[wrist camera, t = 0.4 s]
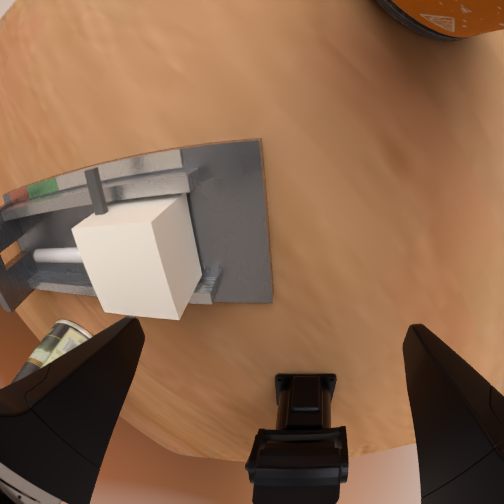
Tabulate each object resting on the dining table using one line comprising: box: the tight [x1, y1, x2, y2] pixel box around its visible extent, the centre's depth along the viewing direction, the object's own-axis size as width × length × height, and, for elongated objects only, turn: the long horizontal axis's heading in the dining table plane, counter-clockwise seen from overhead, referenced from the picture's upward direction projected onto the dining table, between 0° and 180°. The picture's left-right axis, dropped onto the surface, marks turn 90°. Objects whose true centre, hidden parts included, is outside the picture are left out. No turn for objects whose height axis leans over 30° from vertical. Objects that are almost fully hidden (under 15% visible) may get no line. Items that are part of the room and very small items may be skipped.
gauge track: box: [0, 138, 274, 313], centre depth 19 cm, size 12×28×7 cm, turn 96°
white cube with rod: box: [34, 167, 202, 320], centre depth 17 cm, size 9×15×5 cm, turn 96°
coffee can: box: [11, 320, 93, 384], centre depth 26 cm, size 10×10×14 cm
